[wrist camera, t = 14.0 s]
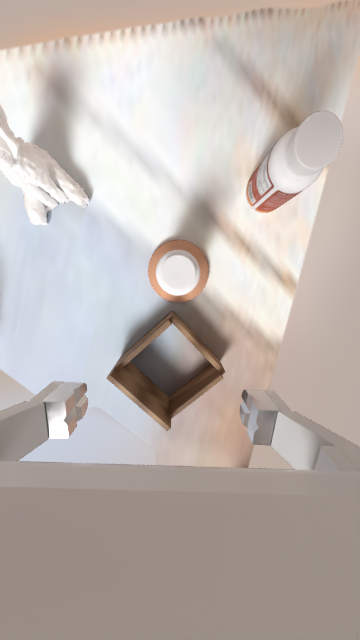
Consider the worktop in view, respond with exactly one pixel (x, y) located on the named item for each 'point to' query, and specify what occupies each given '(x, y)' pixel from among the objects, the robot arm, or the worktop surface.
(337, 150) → the pill bottle
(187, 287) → the supplement bottle
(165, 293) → the tan oval disc
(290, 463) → the robot arm
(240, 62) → the worktop surface
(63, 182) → the seated beast figurine
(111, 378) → the frame
